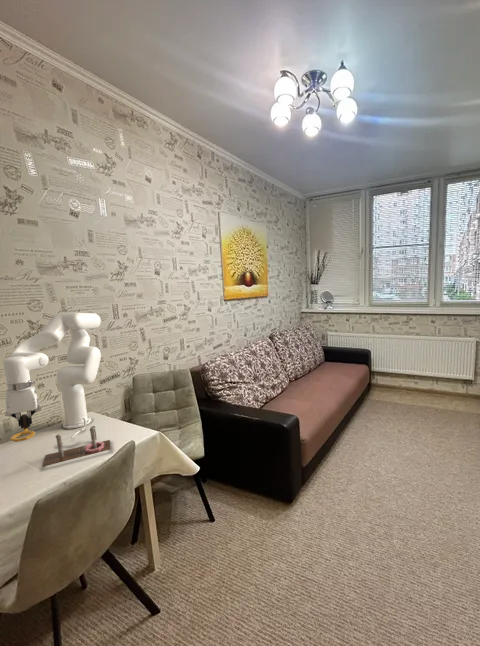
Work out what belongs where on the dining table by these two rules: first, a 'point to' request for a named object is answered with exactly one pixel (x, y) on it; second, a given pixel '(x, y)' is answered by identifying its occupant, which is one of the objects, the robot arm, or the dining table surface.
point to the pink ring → (96, 444)
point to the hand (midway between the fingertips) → (26, 426)
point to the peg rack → (73, 450)
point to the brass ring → (23, 431)
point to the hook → (78, 431)
